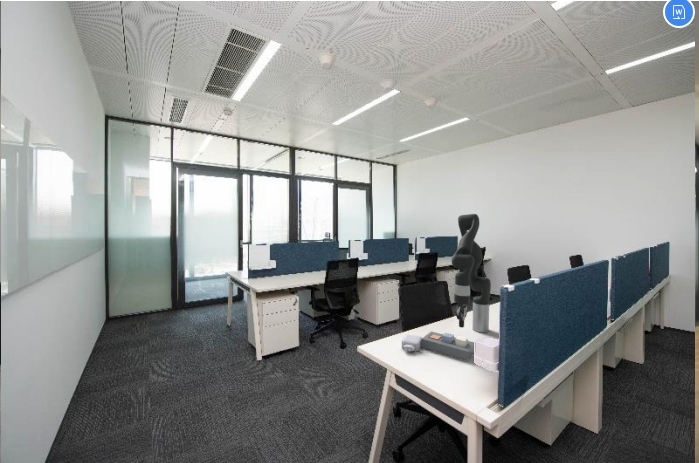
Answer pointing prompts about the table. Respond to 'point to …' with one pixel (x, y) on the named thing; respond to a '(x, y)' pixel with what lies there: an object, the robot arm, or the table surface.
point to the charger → (411, 342)
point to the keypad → (447, 347)
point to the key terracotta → (435, 337)
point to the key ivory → (462, 341)
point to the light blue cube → (448, 338)
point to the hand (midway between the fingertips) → (461, 326)
